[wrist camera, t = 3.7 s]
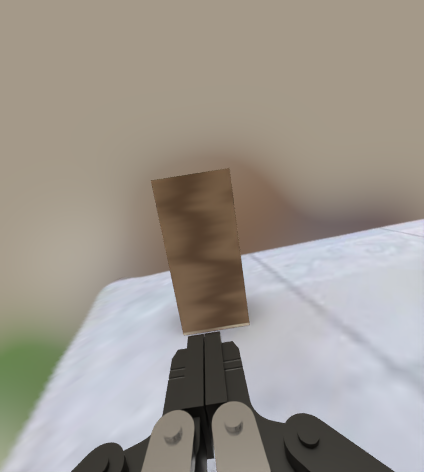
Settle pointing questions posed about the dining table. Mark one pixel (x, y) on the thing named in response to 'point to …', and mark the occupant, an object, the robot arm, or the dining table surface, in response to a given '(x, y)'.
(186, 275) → the walnut block
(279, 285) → the dining table surface
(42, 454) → the dining table surface
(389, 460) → the dining table surface
